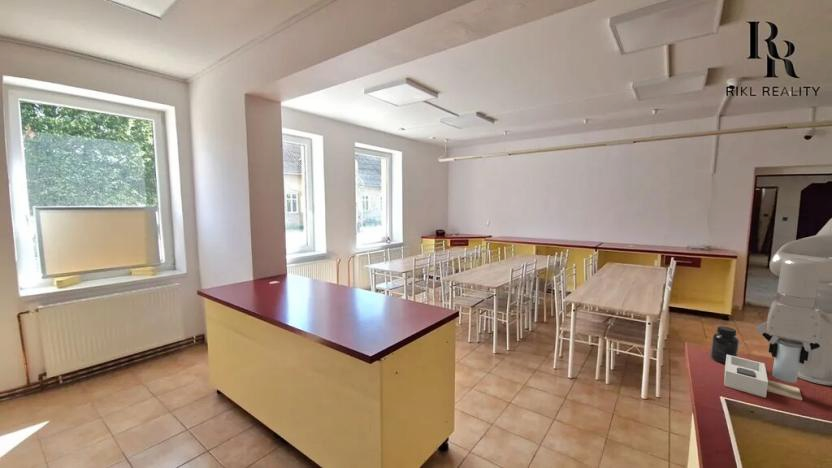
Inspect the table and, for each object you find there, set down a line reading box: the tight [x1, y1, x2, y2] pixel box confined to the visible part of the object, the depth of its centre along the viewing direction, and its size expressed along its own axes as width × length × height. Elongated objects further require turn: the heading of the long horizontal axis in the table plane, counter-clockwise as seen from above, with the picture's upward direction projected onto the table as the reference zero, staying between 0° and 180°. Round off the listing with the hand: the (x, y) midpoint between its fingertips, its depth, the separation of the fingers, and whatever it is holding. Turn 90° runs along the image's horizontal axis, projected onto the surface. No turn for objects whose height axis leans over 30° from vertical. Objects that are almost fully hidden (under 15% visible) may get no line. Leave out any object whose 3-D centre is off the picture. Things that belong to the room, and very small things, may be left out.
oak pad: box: [767, 379, 803, 401], centre depth 100 cm, size 7×7×1 cm
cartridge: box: [771, 337, 803, 384], centre depth 99 cm, size 5×5×12 cm
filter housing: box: [723, 354, 769, 399], centre depth 105 cm, size 14×9×5 cm, turn 136°
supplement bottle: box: [710, 325, 740, 365], centre depth 117 cm, size 7×7×12 cm
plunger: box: [738, 367, 754, 377], centre depth 101 cm, size 3×3×4 cm
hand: (787, 358), depth 99 cm, fingers closed on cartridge, 5 cm apart
